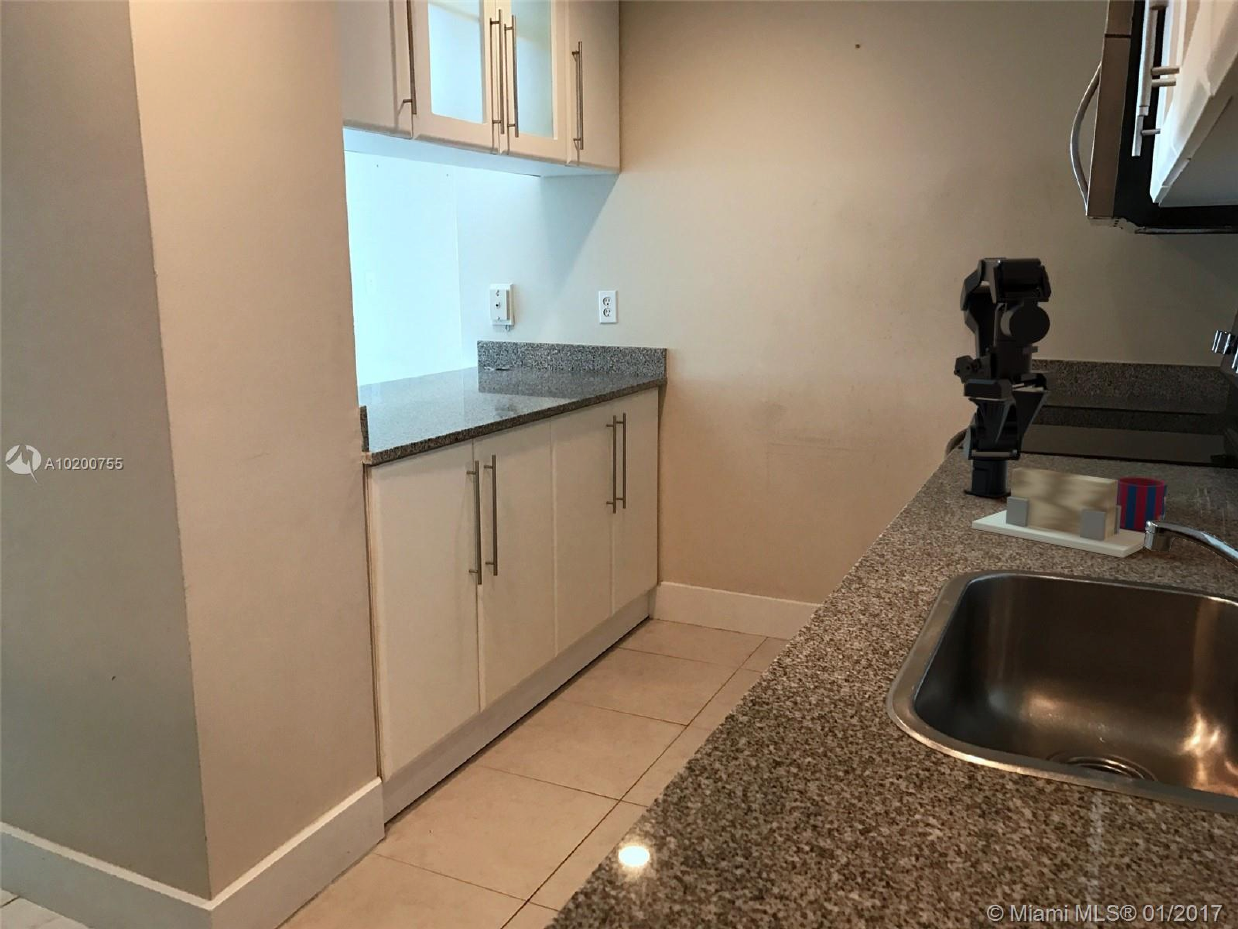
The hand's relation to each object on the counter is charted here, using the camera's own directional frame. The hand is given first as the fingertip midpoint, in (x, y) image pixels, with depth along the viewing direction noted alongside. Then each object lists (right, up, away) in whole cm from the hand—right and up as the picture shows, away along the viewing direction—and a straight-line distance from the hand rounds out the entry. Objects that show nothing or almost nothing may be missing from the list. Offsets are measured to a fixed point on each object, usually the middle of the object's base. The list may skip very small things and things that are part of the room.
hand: (1007, 437), depth 153 cm
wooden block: (+3, -14, -13) cm, 19 cm away
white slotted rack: (+3, -15, -12) cm, 19 cm away
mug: (+15, -14, -7) cm, 22 cm away
